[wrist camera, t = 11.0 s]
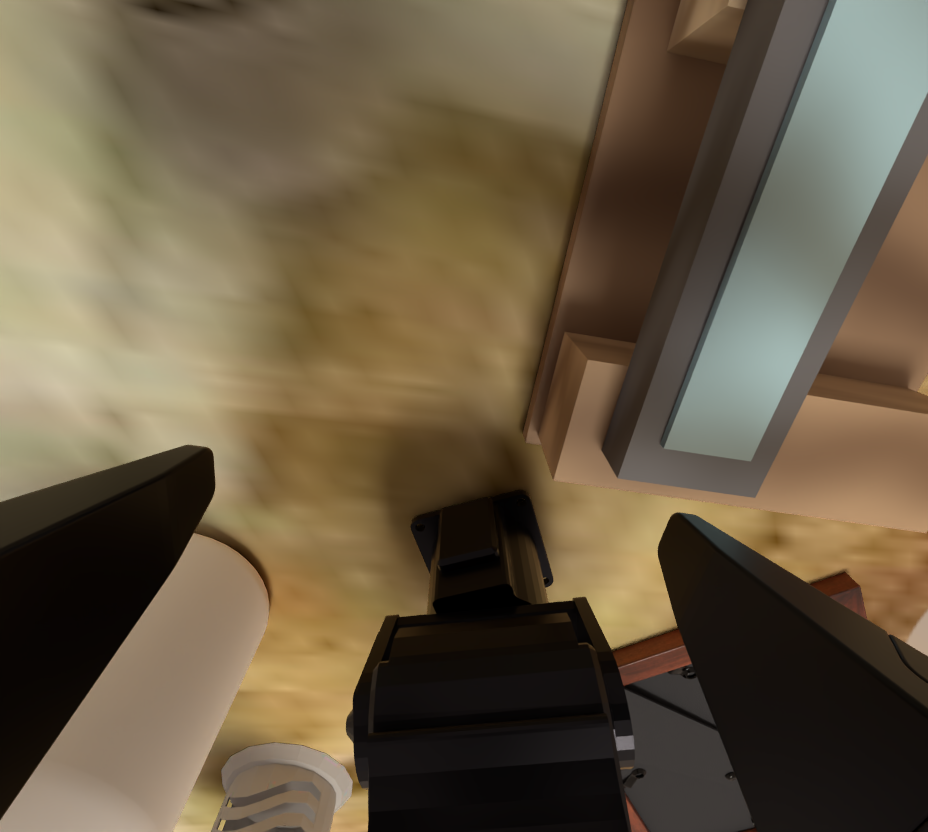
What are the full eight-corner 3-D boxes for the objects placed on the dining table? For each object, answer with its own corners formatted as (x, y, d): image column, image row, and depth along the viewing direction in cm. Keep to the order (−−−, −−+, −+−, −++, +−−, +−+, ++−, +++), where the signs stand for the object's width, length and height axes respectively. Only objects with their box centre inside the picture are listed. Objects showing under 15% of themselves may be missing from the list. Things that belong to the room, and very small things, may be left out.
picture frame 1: (725, 468, 18) (760, 503, 16) (601, 450, 18) (620, 483, 16) (976, -80, 12) (1089, -142, 10) (788, -125, 11) (862, -201, 9)
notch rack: (841, 480, 24) (930, 544, 20) (522, 433, 23) (538, 489, 18) (1147, -44, 16) (1428, -147, 11) (667, -164, 14) (762, -333, 10)
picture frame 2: (526, 672, 31) (643, 848, 40) (530, 701, 29) (651, 878, 38) (837, 564, 27) (887, 784, 37) (864, 590, 26) (909, 815, 35)
